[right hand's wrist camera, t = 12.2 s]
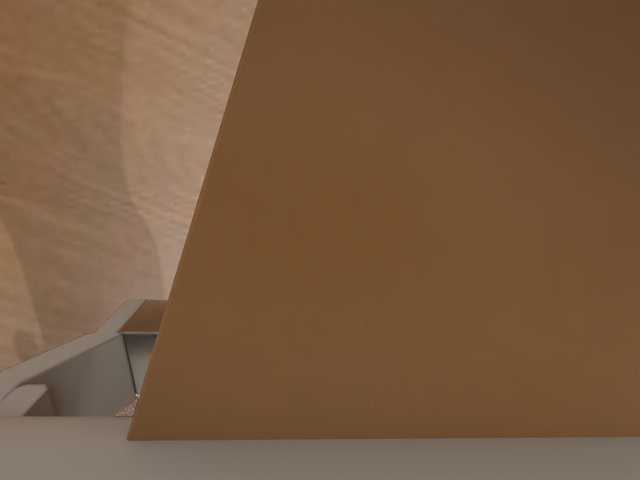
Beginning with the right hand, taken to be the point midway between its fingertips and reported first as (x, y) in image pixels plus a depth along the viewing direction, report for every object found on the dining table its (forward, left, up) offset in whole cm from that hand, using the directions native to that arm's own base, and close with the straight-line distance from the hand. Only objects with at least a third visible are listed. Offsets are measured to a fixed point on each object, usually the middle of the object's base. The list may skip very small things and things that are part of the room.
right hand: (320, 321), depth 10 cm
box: (+3, +7, -4) cm, 8 cm away
